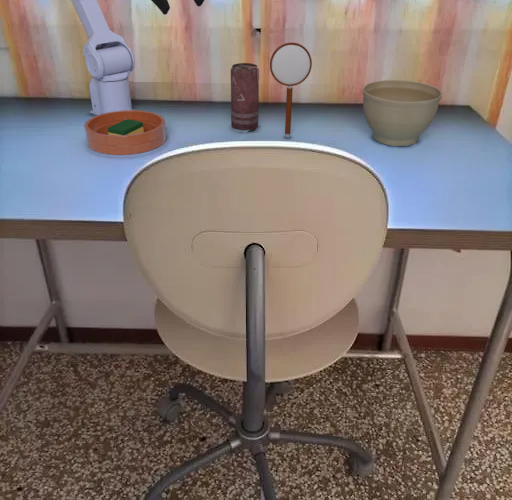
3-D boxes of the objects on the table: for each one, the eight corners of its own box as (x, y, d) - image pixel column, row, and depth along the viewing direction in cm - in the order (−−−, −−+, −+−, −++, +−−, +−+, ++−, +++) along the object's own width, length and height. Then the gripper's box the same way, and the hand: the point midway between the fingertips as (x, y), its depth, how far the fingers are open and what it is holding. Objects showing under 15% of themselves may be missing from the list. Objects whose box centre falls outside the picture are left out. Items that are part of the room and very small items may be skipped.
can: (256, 133, 121) (256, 69, 114) (228, 131, 122) (227, 68, 115) (261, 124, 126) (262, 63, 119) (234, 122, 127) (234, 61, 120)
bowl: (71, 145, 114) (67, 124, 112) (130, 124, 125) (128, 105, 123) (124, 164, 106) (121, 142, 103) (182, 140, 117) (180, 120, 115)
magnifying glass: (306, 136, 120) (312, 41, 109) (307, 139, 119) (313, 43, 108) (267, 136, 120) (270, 41, 109) (268, 139, 118) (270, 43, 108)
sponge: (125, 146, 112) (123, 131, 110) (109, 143, 114) (107, 127, 112) (144, 137, 117) (142, 121, 115) (128, 133, 118) (127, 118, 117)
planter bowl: (369, 122, 128) (374, 76, 122) (438, 133, 122) (448, 85, 117) (348, 144, 116) (353, 94, 110) (424, 158, 110) (434, 105, 104)
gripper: (120, -70, 93) (157, 2, 94) (190, -80, 100) (224, -13, 101) (112, -43, 99) (146, 24, 100) (178, -54, 106) (209, 8, 107)
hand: (184, 7), depth 101 cm, fingers open, 7 cm apart
